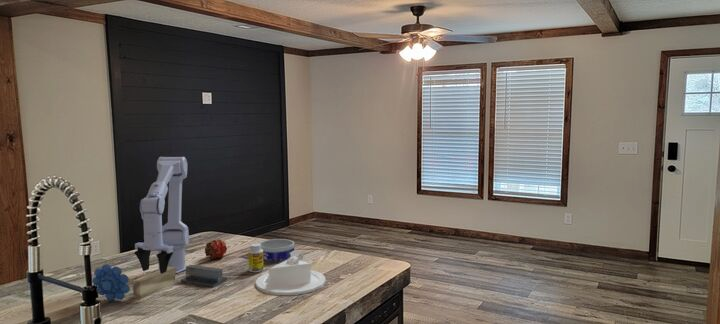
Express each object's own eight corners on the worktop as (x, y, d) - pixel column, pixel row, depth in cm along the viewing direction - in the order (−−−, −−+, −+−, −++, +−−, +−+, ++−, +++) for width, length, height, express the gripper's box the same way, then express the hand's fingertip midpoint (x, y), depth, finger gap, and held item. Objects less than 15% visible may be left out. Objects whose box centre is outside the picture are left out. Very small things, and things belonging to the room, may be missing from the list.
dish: (297, 267, 186) (297, 240, 185) (339, 283, 168) (339, 252, 167) (242, 282, 169) (242, 252, 168) (283, 302, 151) (282, 268, 150)
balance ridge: (180, 282, 168) (180, 269, 167) (195, 275, 175) (195, 262, 175) (213, 287, 163) (212, 273, 163) (227, 280, 171) (226, 266, 170)
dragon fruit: (206, 266, 192) (221, 261, 204) (221, 254, 191) (236, 251, 202) (196, 248, 194) (212, 245, 205) (211, 237, 192) (227, 234, 204)
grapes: (86, 305, 147) (84, 268, 146) (97, 297, 154) (95, 262, 152) (123, 305, 147) (122, 268, 146) (133, 297, 154) (131, 261, 153)
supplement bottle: (251, 273, 178) (251, 247, 177) (246, 269, 182) (246, 244, 181) (265, 271, 181) (265, 245, 180) (260, 267, 185) (259, 242, 184)
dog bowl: (251, 261, 194) (251, 246, 194) (267, 251, 209) (266, 237, 209) (286, 263, 191) (286, 249, 190) (299, 253, 206) (299, 239, 205)
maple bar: (133, 298, 154) (132, 280, 153) (168, 282, 169) (168, 266, 168) (140, 299, 153) (139, 281, 152) (175, 283, 168) (174, 267, 167)
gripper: (127, 233, 157) (128, 272, 159) (161, 236, 152) (162, 277, 154) (143, 228, 164) (144, 266, 165) (176, 232, 159) (178, 271, 160)
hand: (154, 271), depth 160 cm, fingers open, 7 cm apart
